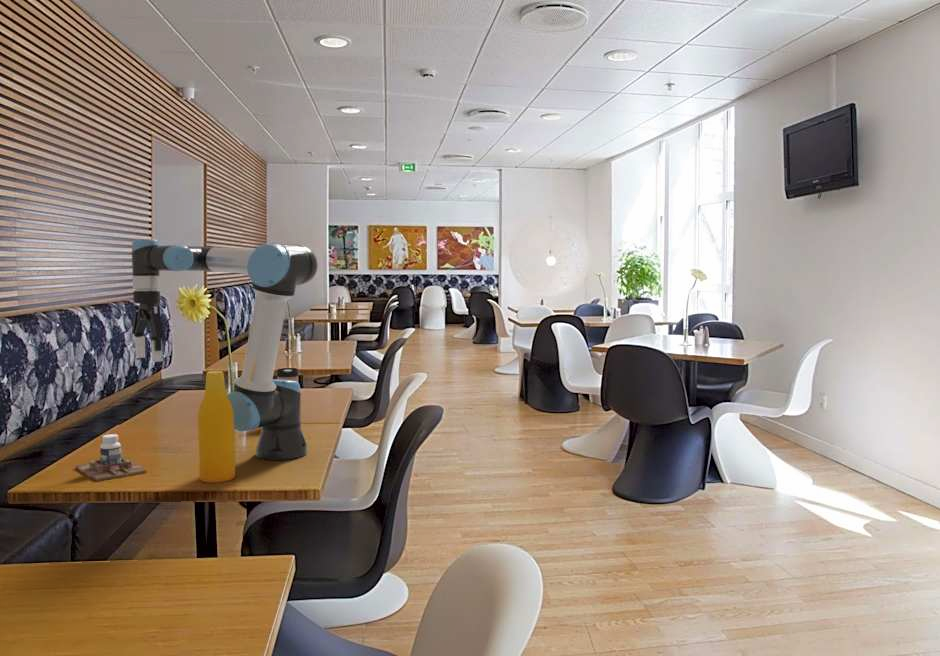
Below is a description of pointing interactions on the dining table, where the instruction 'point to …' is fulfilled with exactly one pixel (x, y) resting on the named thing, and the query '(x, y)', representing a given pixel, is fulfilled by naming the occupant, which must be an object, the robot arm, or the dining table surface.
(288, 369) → the travel mug
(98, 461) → the organizer
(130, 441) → the dining table surface
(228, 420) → the beer bottle
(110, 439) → the pill bottle
